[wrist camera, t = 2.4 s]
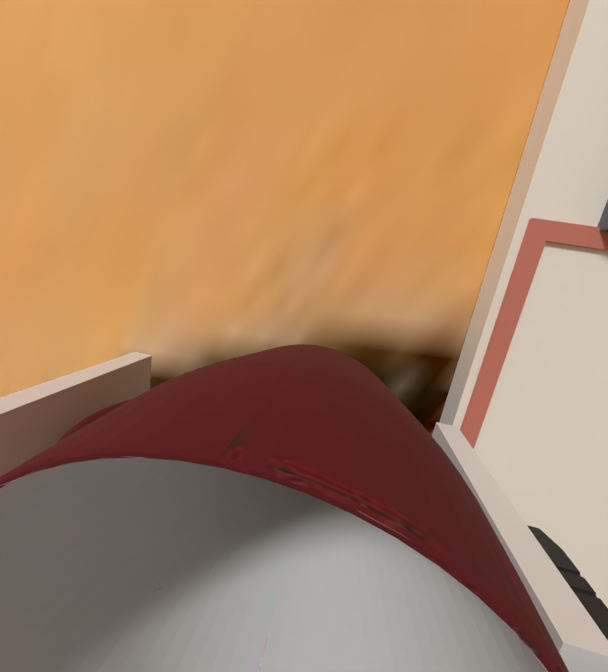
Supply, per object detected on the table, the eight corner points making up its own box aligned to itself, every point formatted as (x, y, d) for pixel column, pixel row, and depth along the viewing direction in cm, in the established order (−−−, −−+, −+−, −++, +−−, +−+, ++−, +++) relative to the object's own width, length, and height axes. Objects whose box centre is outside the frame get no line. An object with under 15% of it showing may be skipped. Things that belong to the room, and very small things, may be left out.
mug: (190, 468, 15) (-116, 829, 5) (173, 311, 13) (-319, 404, 4) (405, 488, 13) (555, 1094, 3) (415, 311, 11) (752, 493, 2)
